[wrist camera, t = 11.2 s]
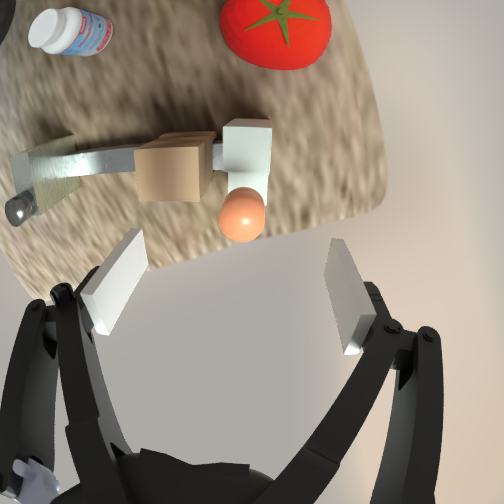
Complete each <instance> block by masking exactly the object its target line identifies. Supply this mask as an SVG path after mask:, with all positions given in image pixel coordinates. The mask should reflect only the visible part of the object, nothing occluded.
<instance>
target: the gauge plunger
mask: <svg viewBox="0 0 504 504" xmlns="http://www.w3.org/2000/svg"><path fill="white" fill-rule="evenodd" d="M264 224H265V204H264V200H263V198H262V196H261V195H260V194H259V193H258V192H257V191H256V190H254V189H252V188H249V187H239V188H236V189H234V190H232V191H231V192H229V194H228V195H227V196H226V198H225V201H224V204H223V206H222V209H221V212H220V215H219V225H220V228H221V230H222V232H223V233H224V234H225V235H226V236H227V237H229V238H230V239H233V240H235V241H249V240H252V239H254V238H256V237H257V236H258V235H259V234H260V233H261V232H262V230H263V228H264Z"/></svg>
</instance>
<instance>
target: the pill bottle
mask: <svg viewBox="0 0 504 504" xmlns="http://www.w3.org/2000/svg"><path fill="white" fill-rule="evenodd" d="M112 34H113V26H112V23H111V21H110V20H109V19H107V18H105V17H102V16H99V15H96V14H93V13H90V12H87V11H84V10H81V9H77V8H73V7H66V8H63V9H60V10H59V9H47V10H45V11H43V12H42V13H41V14H39V15H38V17H37V18H36V19H35V20H34V22H33V23H32V25H31V28H30V31H29V35H28V40H29V44H30V45H31V46H32V47H36V48H42V49H43V50H44V51H45V52H47V53H49V54H63V55H76V56H92V55H95V54H97V53H99V52H100V51H102V50H103V49H104V48H105V47H106V46H107V45H108V43H109V41H110V39H111V37H112Z"/></svg>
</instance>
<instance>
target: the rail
mask: <svg viewBox="0 0 504 504" xmlns="http://www.w3.org/2000/svg"><path fill="white" fill-rule="evenodd" d="M148 143H149V142H148ZM145 144H147V143H136V144H125V145H116V146H107V147H100V148H92V149H86V150H79V151H76V146H75V136H74V135H70V136H65V137H61V138H56V139H53V140H51V141H48V142H45V143H43V144H40V145H38V146H35V147H33V148H30V149H28V150H26V151H23V152H21V153H19V154H17V155H14V156H12V157H10V162H11V168H12V174H13V179H14V184H15V189H16V193H17V195H16V196H15V197H13V198H12V199H10V200H9V201H7V202H6V204H5V213H6V217H7V219H8V221H9V222H10V223H11V224H12V225H13V226H15V227H18V226H20V225H21V224H22V223H23V222H25V221H26V220H27V219H28V218H30V217H31V216H35V215H41V214H43V213H44V212H45V211H47V210H48V209H49V208H51V207H52V206H53V205H55V204H56V203H58V202H59V201H60V200H62V199H63V198H65V197H66V196H68V195H69V194H70V193H72V192H73V191H75V190H76V189H78V188H79V187H81V182H80V176H81V175H91V174H102V173H116V172H132V171H136V170H135V159H134V149H137V148H139V147H141V146H143V145H145ZM213 170H223V140H213Z"/></svg>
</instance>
